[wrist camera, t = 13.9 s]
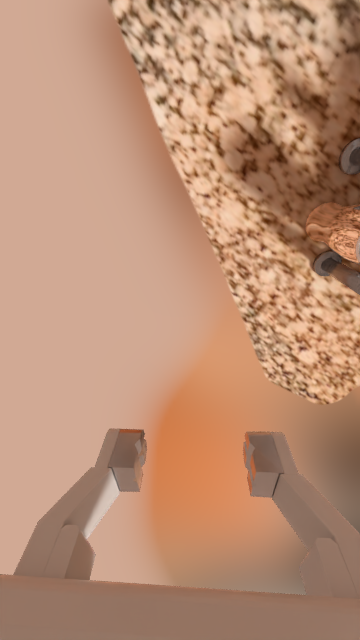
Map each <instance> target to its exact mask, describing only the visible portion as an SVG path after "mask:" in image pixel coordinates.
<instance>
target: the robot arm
mask: <svg viewBox="0 0 360 640" xmlns="http://www.w3.org/2000/svg"><path fill="white" fill-rule="evenodd" d="M144 435H145V433H144V430H139V429H138V430H137V429H109V430H108V432H107V434H106V437H105V439H104V442H103V445H102V448H101V451H100V454H99V457H98V459H97V462H96V465H95V467H93V468H90V469H89V470H88V471H87V472H86V473H85V474H84V475H83V476H82V477H81V478H80V479H79V481H77V482H76V483H75V484H74V486H73V487H72V488H71V489H70V490H69V491H68V492H67V493H66V494H65V495H64V496H63V497H62V498H61V499H60V500H59V501H58V502H57V503H56V504H55V505H54V506H53V507H52V508H51V509H50V510H49V511H48V512H47V513H46V514H45V515H44V516H43V517H42V518H41V519H40V520H39V521H38V523H37V525H36V528H35V530H34V532H33V534H32V536H31V538H30V540H29V542H28V544H27V547H26V549H25V551H24V553H23V555H22V557H21V559H20V562H19V564H18V566H17V568H16V570H15V572H14V574H13V575H5V574H4V575H3V574H0V640H360V534H359V532H358V531H357V530H355V528H354V527H353V526H352V525H351V524H350V523H349V522H348V521H347V520H346V519H345V518H344V517H343V516H342V515H341V514H340V513H339V512H338V511H337V510H336V509H335V508H334V507H333V505H332V504H331V503H330V502H328V500H327V499H326V498H325V497H324V496H323V495H322V494H321V493H320V492H319V491H318V490H317V489H316V488H315V487H314V486H313V485H312V484H311V483H310V482H309V481H308V480H307V478H306V477H305V476H304V475H301V474H299V473H298V470H297V468H296V465H295V462H294V459H293V457H292V454H291V451H290V448H289V446H288V443H287V440H286V437H285V435H284V434H283V433H282V432H246V433H245V440H246V442H244V447H243V453H244V454H243V455H244V462H245V467H246V468H247V469H248V470H249V471H248V477H247V479H248V485H249V490H250V495H251V496H256V497H270V498H272V499H273V501H274V502H275V503H276V505H277V507H278V508H279V509H280V511H281V512H282V514H283V515H284V517H285V518H286V519H287V521H288V522H289V524H290V525H291V527H292V528H293V529H294V531H295V532H296V534H297V535H298V537H299V538H300V539H301V541H302V542H303V544H304V545H305V547H306V548H307V549H308V551H309V552H308V553H307V555H306V557H305V558H304V560H303V561H302V563H301V565H300V566H299V569H300V573H301V576H302V580H303V584H304V588H305V591H306V595H298V594H282V593H269V592H254V591H239V590H225V589H209V588H195V587H180V586H166V585H151V584H137V583H122V582H108V581H92V580H89V579H90V575H91V571H92V567H93V563H94V559H95V552H94V550H93V549H92V547H91V546H90V544H89V542H88V541H87V538H88V537H89V536H90V534H91V533H92V531H93V530H94V529H95V527H96V526H97V524H98V523H99V522H100V520H101V519H102V517H103V516H104V514H105V513H106V512H107V510H108V509H109V507H110V506H111V505H112V503H113V502H114V500H115V499H116V498H117V496H118V495H119V493H120V492H119V491H127V492H128V491H129V492H130V491H131V492H140V488H141V482H142V477H143V472H142V466H143V465H144V464H145V460H146V451H147V446H146V440H145V439H144Z"/></svg>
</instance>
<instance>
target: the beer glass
mask: <svg viewBox="0 0 360 640" xmlns="http://www.w3.org/2000/svg"><path fill="white" fill-rule="evenodd" d="M305 228H306V233H307V235H308V236H309V237H310V238H311V239H312V240H315V241H322V242H325V243H326V244H327V245H328V247H329V248H330V249H331V250H332V251H334V252H335V253H336V254H337V255H339V256H340V257H342V258H344V259H346V260H348V261H350V262H353V263H356V264H359V265H360V204H358V205H352V206H347V207H343V206H341V205H339V204H337V203H334V202H328V203H324V204H321V205H319V206H318V207H316V208H315V209H314V210H313V211H312V212H311V213H310V215H309V216H308V218H307V221H306V226H305Z"/></svg>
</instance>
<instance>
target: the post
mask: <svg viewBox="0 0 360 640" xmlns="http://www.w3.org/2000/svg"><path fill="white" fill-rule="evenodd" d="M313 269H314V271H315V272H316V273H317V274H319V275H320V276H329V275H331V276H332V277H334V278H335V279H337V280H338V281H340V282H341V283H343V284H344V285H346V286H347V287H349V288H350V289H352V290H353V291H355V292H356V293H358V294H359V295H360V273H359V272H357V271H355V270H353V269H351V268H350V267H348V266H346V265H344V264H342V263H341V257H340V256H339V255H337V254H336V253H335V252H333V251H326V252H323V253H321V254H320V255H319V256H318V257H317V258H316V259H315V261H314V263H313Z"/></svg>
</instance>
